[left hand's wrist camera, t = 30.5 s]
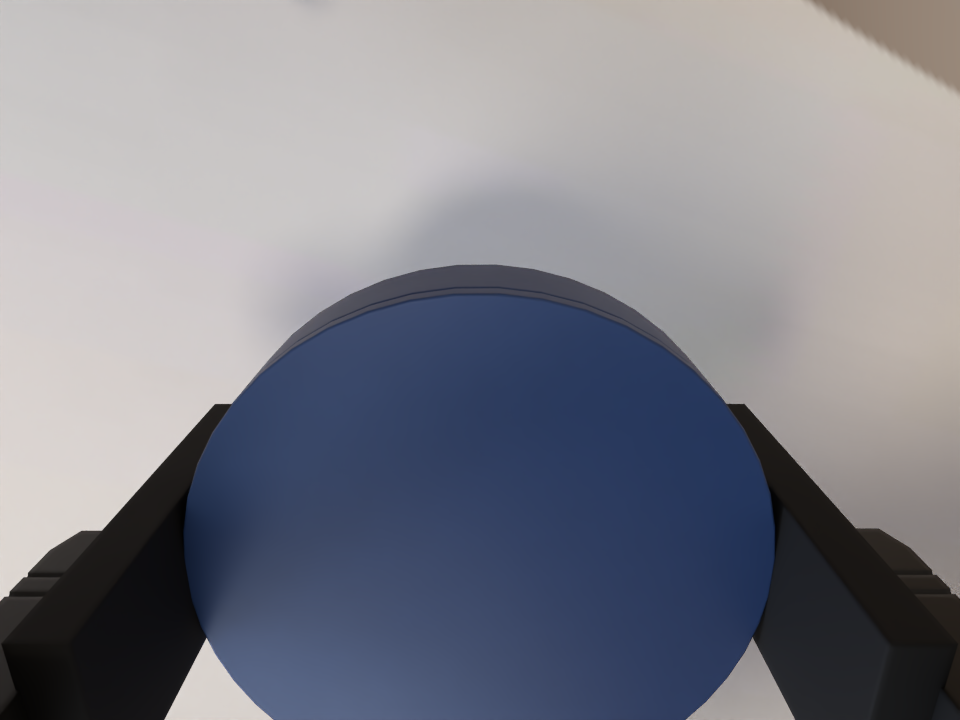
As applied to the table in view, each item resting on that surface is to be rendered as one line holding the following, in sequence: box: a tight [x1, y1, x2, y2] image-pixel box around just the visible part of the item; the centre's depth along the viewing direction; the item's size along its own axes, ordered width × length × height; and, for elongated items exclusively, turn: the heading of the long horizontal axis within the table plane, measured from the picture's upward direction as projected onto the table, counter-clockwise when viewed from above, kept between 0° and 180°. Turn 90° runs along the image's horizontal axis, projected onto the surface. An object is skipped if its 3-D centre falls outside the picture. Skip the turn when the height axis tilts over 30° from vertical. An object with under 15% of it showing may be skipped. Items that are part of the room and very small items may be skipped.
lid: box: [183, 265, 775, 720], centre depth 11 cm, size 9×9×2 cm
